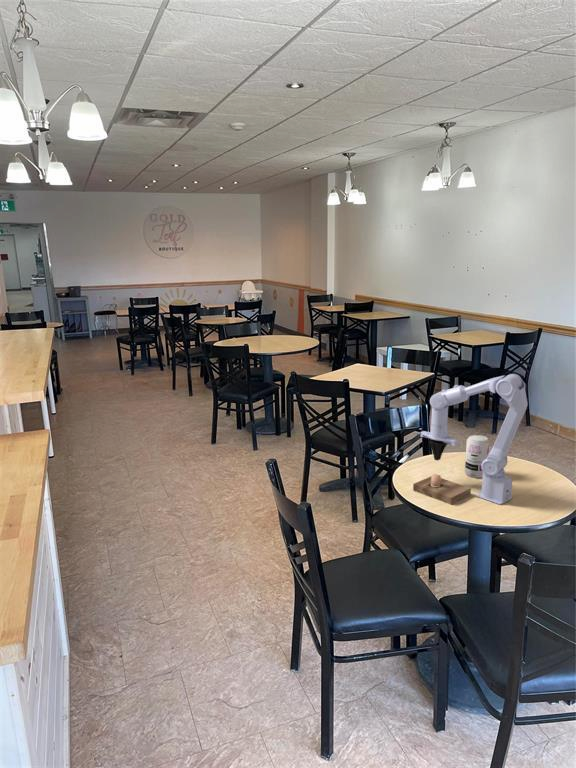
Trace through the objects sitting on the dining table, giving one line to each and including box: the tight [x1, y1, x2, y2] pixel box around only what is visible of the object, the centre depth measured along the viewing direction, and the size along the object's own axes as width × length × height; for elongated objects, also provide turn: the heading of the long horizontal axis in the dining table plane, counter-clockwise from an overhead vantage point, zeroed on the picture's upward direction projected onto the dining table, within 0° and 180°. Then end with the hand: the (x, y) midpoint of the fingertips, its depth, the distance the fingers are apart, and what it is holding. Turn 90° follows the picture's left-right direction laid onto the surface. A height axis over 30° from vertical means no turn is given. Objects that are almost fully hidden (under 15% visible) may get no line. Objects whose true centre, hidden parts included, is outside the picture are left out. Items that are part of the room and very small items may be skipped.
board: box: [412, 475, 472, 505], centre depth 198 cm, size 16×12×2 cm
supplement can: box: [464, 434, 490, 479], centre depth 212 cm, size 8×8×15 cm
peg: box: [431, 473, 442, 488], centre depth 198 cm, size 3×3×6 cm
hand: (437, 459), depth 204 cm, fingers closed
